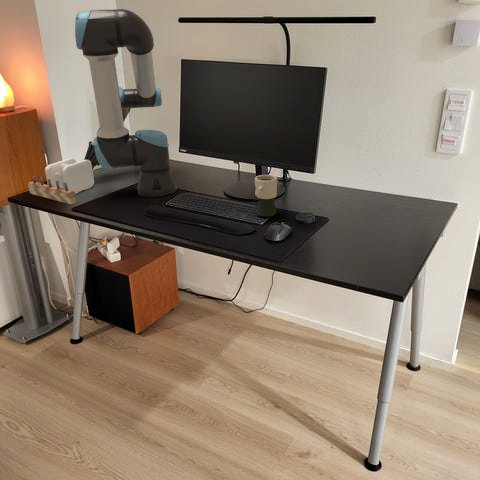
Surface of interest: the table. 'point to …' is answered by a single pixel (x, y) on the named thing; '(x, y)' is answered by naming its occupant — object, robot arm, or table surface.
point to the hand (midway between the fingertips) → (83, 178)
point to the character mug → (266, 194)
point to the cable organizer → (71, 174)
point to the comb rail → (52, 191)
